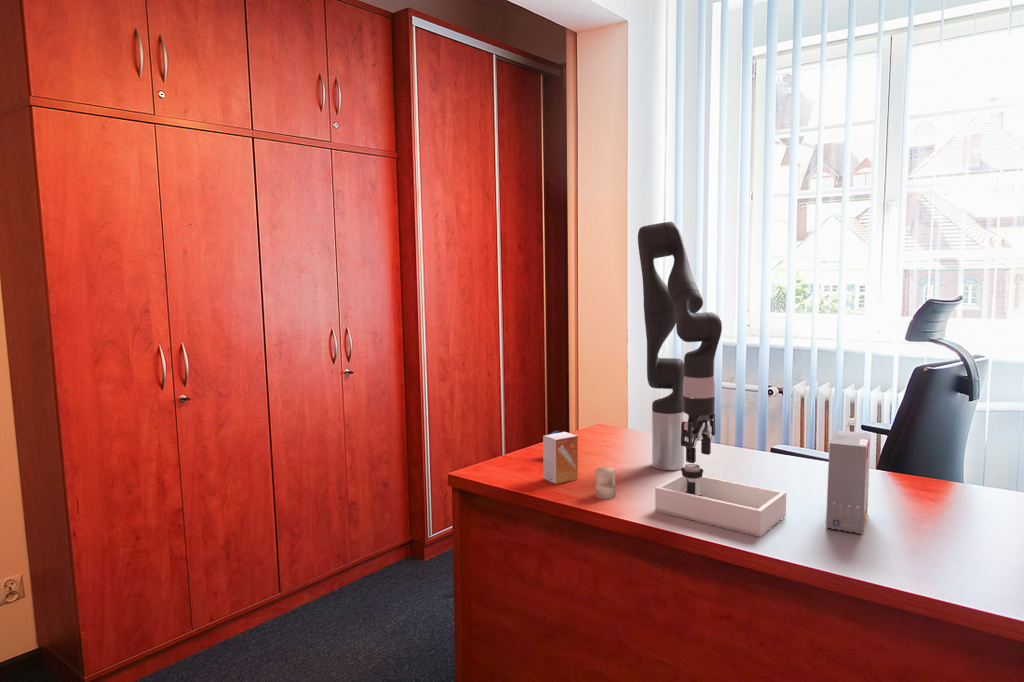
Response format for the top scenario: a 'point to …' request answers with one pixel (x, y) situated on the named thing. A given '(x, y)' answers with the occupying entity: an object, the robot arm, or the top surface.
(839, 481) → the hard drive box
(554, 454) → the small box
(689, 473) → the push button
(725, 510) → the tote
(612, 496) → the maple cylinder
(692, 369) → the robot arm
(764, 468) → the top surface
